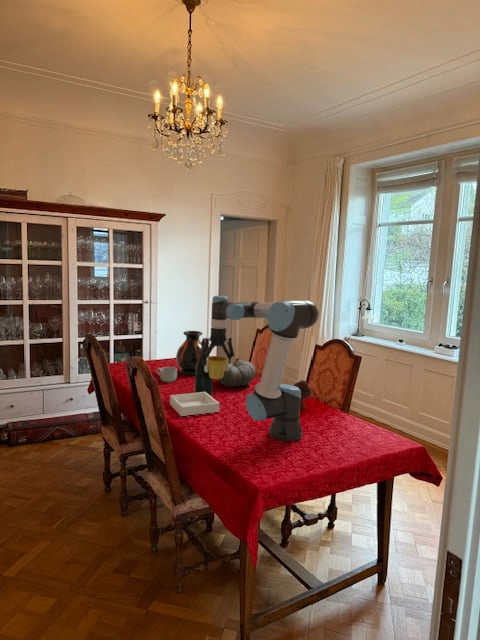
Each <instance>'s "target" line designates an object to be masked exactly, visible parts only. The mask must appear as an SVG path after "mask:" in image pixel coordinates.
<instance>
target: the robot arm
mask: <svg viewBox="0 0 480 640" xmlns="http://www.w3.org/2000/svg"><path fill="white" fill-rule="evenodd" d="M319 314H320V313H319V309H318V307H317V305H315V303H313V302H312V301H310V300H306V299H305V300H304V299H302V300H301V299H299V300H286V299H285V300H280V301H276V302H261V301H248V302H246V301H245V302H244V301H243V302H231V301H229V299H228V296H227V295H214V296H212V303H211V319H210V320H211V322H210V323H211V324H210V326H211V328H210V337H204V344H203V347H202V350H201V353H200V357H201V358H203V365H204V366H205V367H204V371H205V372H208V359H207V358H208V356H210V354H211V352H212V351H213V350H214V348H215V347H221V348H222V350H223V351H224V354H225V355H226V356H224V357H225V358H227V366H226V367H225V370H226V371H228V367H229V364H230V363H231V359H232V358H233V357H235V353H234V348H233V344H232V337H230V336H228V337H227V321H228V320H227V319H230V320H232V321H239V320H241V319H249V318H250V319H251V318H253V319H255V318H256V319H264V320H265V319H266V320H267V325H268V327H269V331H270V333H271V334H272V335H271V337H270V342H269V345H268V348H267V349H268V350H267V354H266V358H265V360H264V361H265V362H264V366H263V368H262V373H261V377H260V381H259V383H257V384H256V385H255V386H254V389H253V392H252V393H250V394H248V395H247V396H246V398H245V407H246V410H247V412H248V415H249V416H250V417H251V418H252V420H254V421H266V420H269V419H272V418H273V419H272V421H271V422H270V423H271V424H270V425H269V426H270V427H269V429H268V436H269V437H271V438H272V439H274V440H277V441H281V442H295V441H296V442H297V441H299V440H301V439H302V437H303V430H302V429H303V428H302V424H301V422H300V415H301V408H300V404H301V390H300V389H299V388H298V387H296V386H294V385H292V384H286V383H282V380H283V376H284V374H285V373H284V372H285V368H286V366H287V362H288V359H289V354H290V351H291V348H292V344H293V341H294V340H295V339H297V338H298V336H299V333H300V330H302V329H303V330H304V329H309V328H312V327H313V326H314V325H315V324H316V323H317V321H318V319H319V316H320V315H319ZM225 342H226V343H227V346H226V343H225ZM208 343H209V348H208V349H207V346H208ZM206 349H207V351H206ZM205 352H206V353H205Z"/></svg>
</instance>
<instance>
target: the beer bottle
mask: <svg viewBox="0 0 480 640" xmlns="http://www.w3.org/2000/svg"><path fill="white" fill-rule="evenodd" d="M204 338H205V337H204ZM204 338H203V337H202V340H201V341H200V342H201V350H202V347H203V344H204ZM209 346H210V342H209V343H208V346H207V349H208V348H209ZM207 349H206V351H207ZM205 353H206V352H205ZM210 356H211V355H209V356H208V357H210ZM204 367H205V366H204V365H203V358H201V357H199V360H198V362H197V365H196V372H195V375H194V393H198V392H206V393H207V394H209V395H210V396H211V397H212V395H213V391H214V388H213V387H214V379H212V378H210V376H209V370H208V372H205V371H204Z"/></svg>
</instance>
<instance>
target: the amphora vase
mask: <svg viewBox="0 0 480 640" xmlns="http://www.w3.org/2000/svg"><path fill="white" fill-rule="evenodd" d="M183 335H184V336H185V338H186V339H185V340H184V341H183V343H182V344H181V345H180V346H179V347H178V348H177V352H176V356H175V357H176V358H175V359H176V364H177V366H178V367H179V368H180V369H179V372H180V374H182V375H186V376H195V372H196V365H197V362H198V360H199V357H200V353H201V342H202V341H201V340H200V336H203V332H202V331H198V330H185V331H184V332H183Z"/></svg>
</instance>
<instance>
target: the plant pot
mask: <svg viewBox="0 0 480 640" xmlns="http://www.w3.org/2000/svg"><path fill="white" fill-rule="evenodd" d="M209 356H210V357H208V358H207V359H208V370H209V376H210V378H212V379H213V380H218V379H221V378H223V375H224V371H225V367H226V366H227V358H225V357H226V356H221V355H209Z"/></svg>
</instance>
